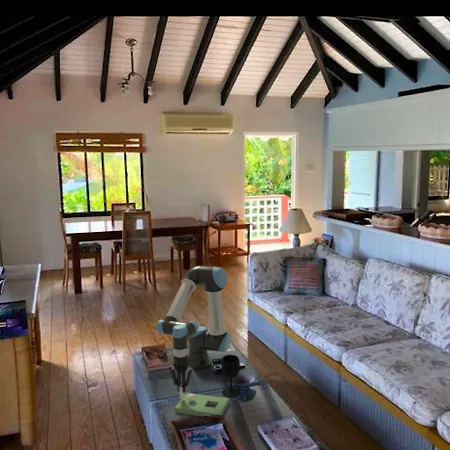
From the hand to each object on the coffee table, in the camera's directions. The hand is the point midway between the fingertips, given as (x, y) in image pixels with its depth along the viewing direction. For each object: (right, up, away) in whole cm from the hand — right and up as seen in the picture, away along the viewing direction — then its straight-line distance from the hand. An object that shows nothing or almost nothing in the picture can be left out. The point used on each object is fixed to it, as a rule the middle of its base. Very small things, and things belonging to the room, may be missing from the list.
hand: (182, 397), depth 249 cm
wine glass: (+26, -2, +12) cm, 29 cm away
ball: (+5, 0, -2) cm, 5 cm away
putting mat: (+11, -4, -3) cm, 12 cm away
